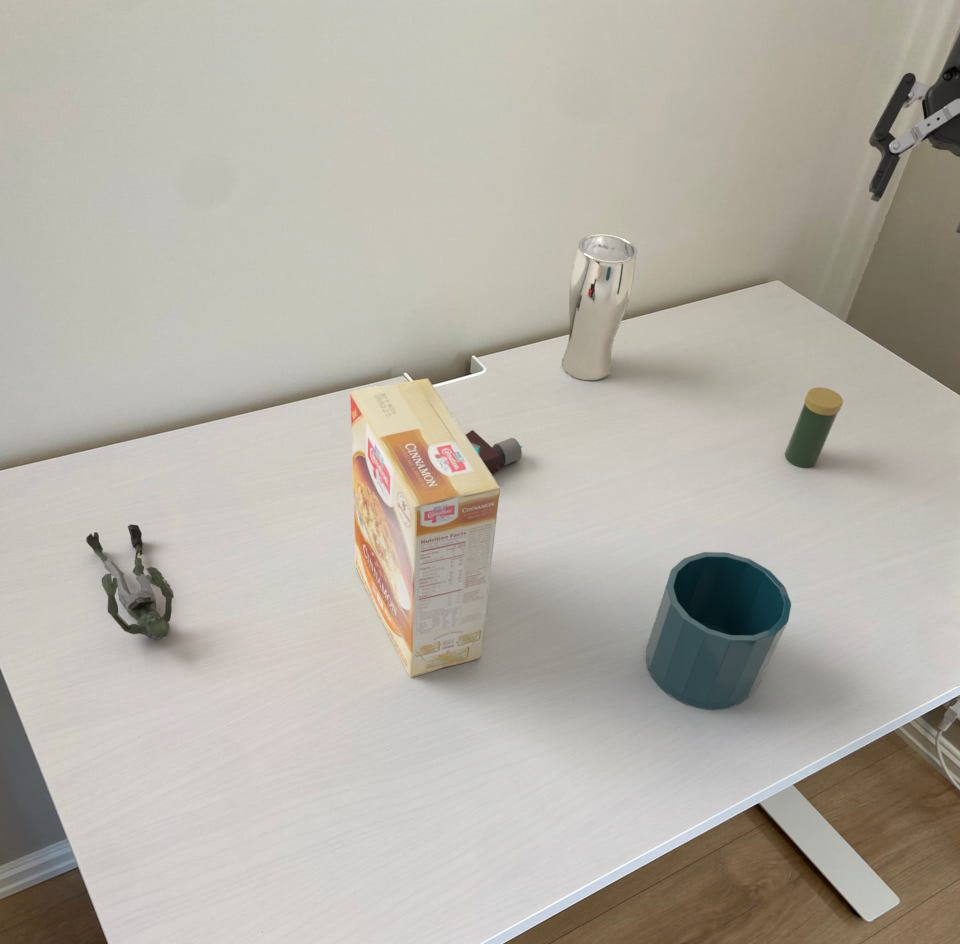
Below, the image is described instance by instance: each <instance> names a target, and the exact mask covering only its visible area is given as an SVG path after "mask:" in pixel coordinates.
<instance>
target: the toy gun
mask: <svg viewBox="0 0 960 944" xmlns="http://www.w3.org/2000/svg"><path fill="white" fill-rule="evenodd" d="M465 435H466V437H467V438H468V440H469V441H470V443H471V444H472V446H473V447H474V449H475V450H476V452H477V453H478V455H479V456H480V458H481V459H482V461H483V462H484V464H485V465H486V467H487V468H488V470H489V471H490V473H491V474H492V475H493V474H494V473H496V472H499V469H500V467H505V466H508V465H511V464H512V463H515V462H517V461H520V460H521V459H522V456H523V452H522V451H523V450H522V448H523V447H524V445H521V444H520V443H519V441H518V440H517V439H516V438H514V437H509V438H507V439H504V440H502V441H500V442H497V443H494V444H493V446H492V445H490V444H489V443H488V442H486V440H485V439H484V438H482V437H481V435H479V434H478V433H477V432H476V431H475V430H474V429H472V430H470V431H469V432H467V433H465Z"/></svg>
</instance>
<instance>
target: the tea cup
mask: <svg viewBox="0 0 960 944" xmlns="http://www.w3.org/2000/svg"><path fill="white" fill-rule="evenodd" d="M790 599H791V598H790V596H789V594H788V591H787V588H786V587H785V585H784V584H783V583H782V582H781V581H780V580H779V579H778V577H776V575H774V574H773V572H772V571H770V569H767V568H766V567H764V566H763V565H761V564H759V563H758V562H756V561H754V560H752V559H751V558H747V557H744V556H741V555H737V554H733V553H730V552H725V551H724V552H721V551H719V552H718V551H717V552H715V551H704V552H703V551H702V552H700V553H697V554H693V555H690V556H687V557H685V558H682V560H680V561H679V562H678V563H677V564H676V565H675V566H673V567H672V568H671V570H670V572H669V576H668V579H667V582H666V585H665V587H664V590H663V594H662V598H661V601H660V604H659V607H658V610H657V614H656V617H655V620H654V623H653V626H652V630H651V632H650V635H649V639H648V642H647V645H646V649H645V664H646V667H647V671H648V673H649V675H650V676H651V678H652V679H653V681H654V682H655V683H656V684H657V686H658V687H659V688H660V689H662V690H663V692H665V693H666V694H668V695H669V696H670V697H671V698H673V699H675V700H677V701H678V702H681V703H683V704H686V705H688V706H692V707H694V708H698V709H703V710H725V709H729V708H732V707H736V706H738V705H740V704H742V703H744V702H745V701H746V700H748V699H749V698H750V697H751V696H752V695H753V693H754V692H755V690H756V688H757V687H758V686H759V684H760V682H761V680H762V679H763V676H764V675H765V672H766V670H767V668H768V666H769V663H770V661H771V659H772V657H773V655H774V653H775V651H776V649H777V646H778V644H779V642H780V641H781V638H782V635H783V634H784V631H785V629H786V627H787V625H788V623H789V620H790V615H791V609H792V601H791V600H790Z"/></svg>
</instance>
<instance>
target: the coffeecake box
mask: <svg viewBox="0 0 960 944" xmlns="http://www.w3.org/2000/svg"><path fill="white" fill-rule="evenodd" d="M349 398H350V420H351V421H350V422H351V448H352V449H351V452H352V453H351V454H352V455H351V456H352V485H353V487H352V488H353V517H354V518H353V519H354V521H353V522H354V553H355V555H354V556H355V561H354V566H355V569H356V570H357V573H358V575H359V577H360V579H361V581H362V583H363V586H364V587H365V589H366V592H367V594H368V596H369V597H370V600H371V602H372V604H373V605H374V608H375V610H376V612H377V614H378V616H379V618H380V620H381V622H382V624H383V626H384V628H385V630H386V632H387V633H388V634H387V635H388V636H389V638H390V640H391V642H392V644H393V646H394V648H395V650H396V652H397V654H398V656H399V659H400V660H401V662H402V664H403V666H404V668H405V669H406V672H407V674H408V676H409V677H410V678H413V677H417V676H421V675H425V674H429V673H431V672H435V671H437V670H440V669H442V668H446V667H451V666H455V665H460V664H464V663H467V662H471V661H474V660H475V661H476V660H479V659H480V658H481V657H482V649H483V639H484V631H485V622H486V611H487V605H488V604H487V603H488V596H489V587H490V580H491V579H490V578H491V571H492V570H491V569H492V561H493V551H494V544H495V535H496V527H497V518H498V517H497V516H498V509H499V501H500V495H501V494H500V493H501V486H500V485H499V484H498V482H497V481H496V479H495V477H494V476H493V473H492V474H491V473H490V471H489V470H488V468H487V467H486V465H485V464H484V462H483V461H482V459H481V458H480V456H479V455H478V453H477V452H476V450H475V449H474V447H473V446H472V444H471V443H470V441H469V440H468V438H467V437H466V433H465V432H464V431H463V429H462V428H461V426H460V425H459V423H458V421H457V420H456V418H455V417H454V415H453V414H452V413H451V411H450V409H449V407H448V406H447V405H446V404H445V402H444V401H443V399H442V397H441V395H440V394H439V393H438V391H437V390H436V388H435V387H434V385H433V384H432V382H431V381H430V379H429V378H427V377H426V378H421V379H416V380H415V379H414V380H409V381H404V382H399V383H394V384H387V385H381V386H380V385H374V386H368V387H362V388H358V389H355V390H351V391H349Z"/></svg>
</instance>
